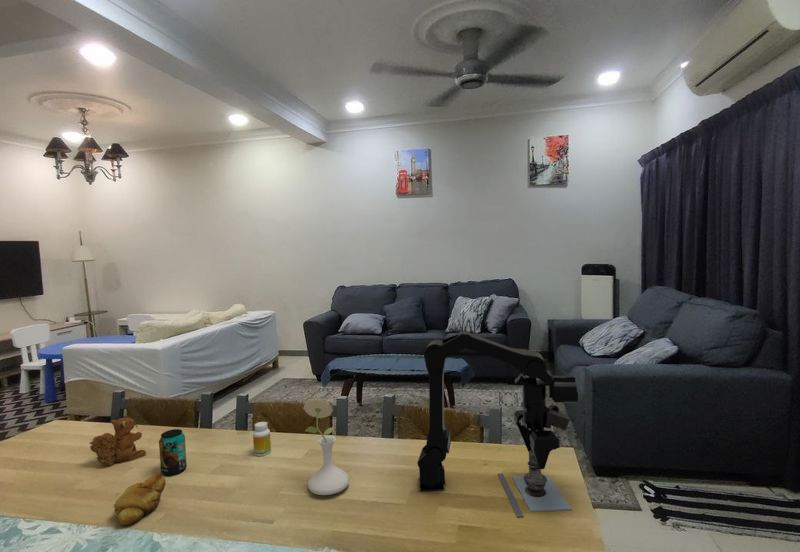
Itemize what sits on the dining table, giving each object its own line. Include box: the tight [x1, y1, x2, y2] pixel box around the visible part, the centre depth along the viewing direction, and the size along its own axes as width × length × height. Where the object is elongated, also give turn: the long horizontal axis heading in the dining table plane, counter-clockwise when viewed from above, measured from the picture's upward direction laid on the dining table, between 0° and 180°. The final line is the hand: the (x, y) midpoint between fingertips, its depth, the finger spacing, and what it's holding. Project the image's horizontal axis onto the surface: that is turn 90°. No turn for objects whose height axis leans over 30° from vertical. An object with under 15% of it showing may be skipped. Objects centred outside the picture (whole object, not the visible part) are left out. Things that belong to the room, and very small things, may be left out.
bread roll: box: [113, 473, 167, 526], centre depth 109 cm, size 13×10×8 cm
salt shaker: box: [522, 450, 547, 497], centre depth 111 cm, size 6×6×12 cm
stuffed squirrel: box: [88, 416, 147, 467], centre depth 139 cm, size 10×14×13 cm
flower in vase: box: [303, 397, 350, 496], centre depth 117 cm, size 13×11×25 cm
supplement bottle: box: [252, 421, 272, 457], centre depth 140 cm, size 5×5×10 cm
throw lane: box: [497, 472, 572, 519], centre depth 111 cm, size 14×20×1 cm
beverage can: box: [158, 428, 188, 477], centre depth 130 cm, size 7×7×12 cm
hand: (535, 460), depth 111 cm, fingers open, 9 cm apart
